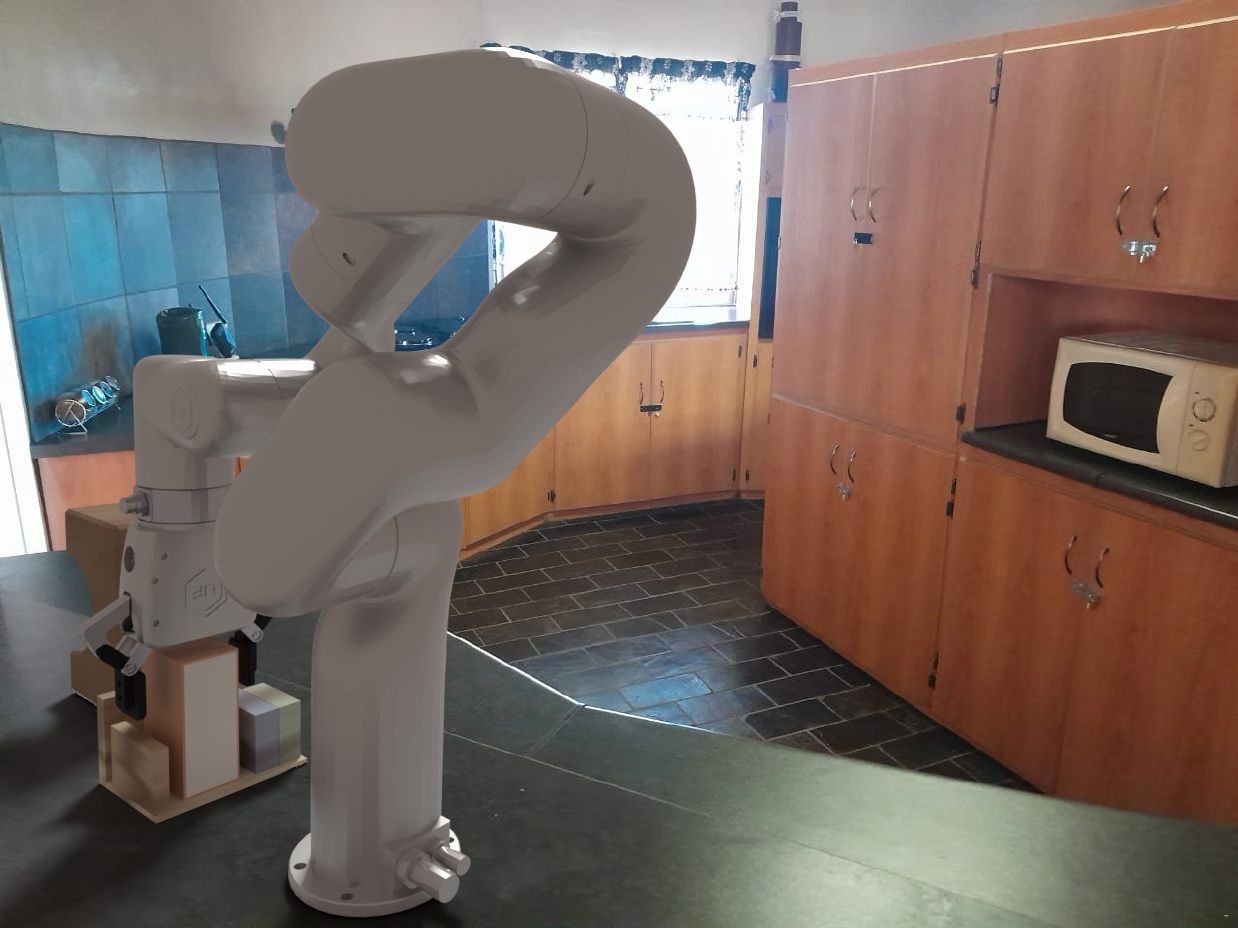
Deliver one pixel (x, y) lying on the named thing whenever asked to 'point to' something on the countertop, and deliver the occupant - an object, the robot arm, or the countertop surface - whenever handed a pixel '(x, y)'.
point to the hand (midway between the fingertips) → (190, 697)
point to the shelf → (143, 762)
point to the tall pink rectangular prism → (195, 713)
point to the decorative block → (97, 583)
